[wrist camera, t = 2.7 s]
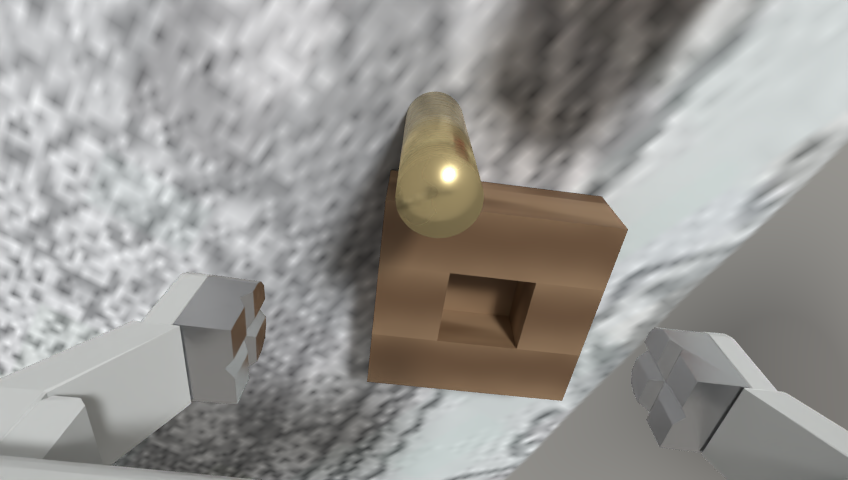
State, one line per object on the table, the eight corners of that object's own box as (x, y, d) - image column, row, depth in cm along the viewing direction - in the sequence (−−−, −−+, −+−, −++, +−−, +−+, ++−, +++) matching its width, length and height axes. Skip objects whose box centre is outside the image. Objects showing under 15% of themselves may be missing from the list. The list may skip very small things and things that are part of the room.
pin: (457, 152, 26) (474, 242, 17) (402, 145, 25) (391, 232, 17) (467, 95, 24) (491, 163, 15) (409, 88, 24) (400, 151, 15)
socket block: (547, 355, 33) (562, 400, 29) (373, 337, 32) (367, 381, 28) (601, 196, 27) (628, 229, 23) (391, 170, 26) (385, 199, 23)
